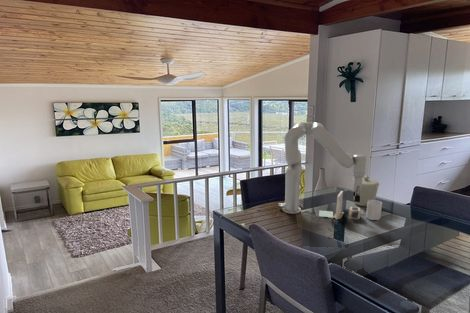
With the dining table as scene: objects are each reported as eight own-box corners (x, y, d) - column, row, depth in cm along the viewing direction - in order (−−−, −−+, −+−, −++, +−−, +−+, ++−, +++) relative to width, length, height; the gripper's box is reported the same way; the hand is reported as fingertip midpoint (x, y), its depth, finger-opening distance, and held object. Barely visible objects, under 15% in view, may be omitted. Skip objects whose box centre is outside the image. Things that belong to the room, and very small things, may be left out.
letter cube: (349, 218, 217) (350, 210, 216) (349, 214, 223) (349, 206, 222) (359, 219, 216) (360, 211, 214) (358, 215, 222) (359, 207, 220)
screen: (332, 218, 218) (334, 195, 213) (337, 212, 227) (338, 190, 223) (339, 220, 215) (341, 196, 211) (343, 213, 225) (345, 191, 220)
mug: (380, 222, 212) (382, 206, 209) (365, 219, 216) (366, 203, 213) (380, 214, 223) (382, 199, 220) (366, 212, 226) (368, 197, 224)
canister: (345, 203, 241) (348, 175, 236) (358, 197, 253) (360, 170, 247) (369, 211, 228) (372, 182, 223) (381, 204, 240) (385, 176, 234)
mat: (318, 216, 220) (318, 215, 220) (319, 211, 228) (319, 210, 228) (333, 218, 218) (333, 217, 218) (332, 212, 226) (332, 211, 226)
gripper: (351, 169, 221) (349, 193, 225) (353, 177, 205) (351, 203, 209) (363, 170, 219) (361, 194, 223) (366, 178, 203) (363, 204, 207)
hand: (356, 198), depth 216 cm, fingers open, 9 cm apart
